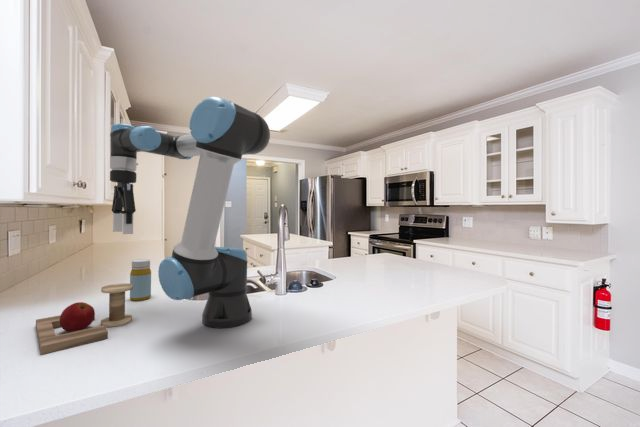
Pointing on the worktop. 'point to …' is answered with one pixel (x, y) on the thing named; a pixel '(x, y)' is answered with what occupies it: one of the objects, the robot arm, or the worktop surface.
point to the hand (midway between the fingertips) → (122, 232)
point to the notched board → (65, 335)
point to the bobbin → (116, 305)
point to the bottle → (140, 280)
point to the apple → (77, 317)
